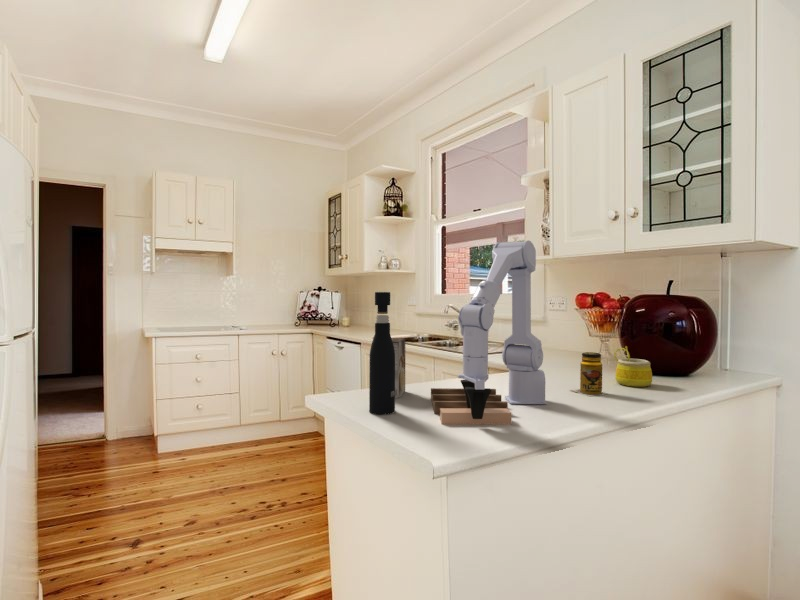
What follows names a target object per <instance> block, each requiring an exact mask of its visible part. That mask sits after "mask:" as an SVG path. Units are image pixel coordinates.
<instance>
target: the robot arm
mask: <svg viewBox="0 0 800 600" xmlns="http://www.w3.org/2000/svg"><path fill="white" fill-rule="evenodd" d="M536 251H537V250H536V248H535V246H534V244H533V242H532V240H525V241H523V240H522V241H509V242H501V241H499V242H498V241H497V242H496V243H495V244H494V246H493V248H492V250H491V256H492V264H491V267H490V269H489V272H488V274H487V277H486V279H485V280H482V281H480V282H479V283H478V285H477V287H476V289H475V290H474V293H473V295H472V297H471V299H470V300H469V302H468V304H465V305H463V306H462V307H461V309H460V310H459V315H458V317H457V320H458V321H457V322H458V324H459V326H460V334H461V336H462V341H463V342H462V343H463V344H462V373H459V374H457V378H458V379H460V383H461V386H462V389H464V392H465V396H466V402H467V408H471V414H472V418H473V419H482V417H483V413H484V409H485V404H486V401H487V399H488V397H489V395H490V393H491V389H492V388H485V387H486V386H485V383H486V382H487V381H488V380H489V373H488V372H489V370H488V369H489V368H488V366H489V365H488V364H489V361H488V360H489V329H491V327H492V325H493V323H494V315H495V307H496V305H497V302H498V300H499V298H500V297H501V295H502V289H501V287H500V286H501V285H502V283H503V281H504V280H505V279H506V276H507V275H508V274H509V275H510V277H511V313H512V314H511V315H512V316H511V320H512V321H511V323H512V324H511V328H512V329H511V330H512V331H511V332H512V333H511V334H510V335H509V336H508V337H507V338H505V339H504V341H503V349H502V353H501V355H502V356H501V359H502V361H503V363H504V365H505V366H506V369H508V395H504V398H505V399H506V401H507V402H509V404H510V405H546V404H547V402H546V375H545V371H544V370H543V369H540V368H541V367H542V365H543V362H544V351H543V348H542V341H541V340H540V339H539V338H538V337H537V336H535V335H534V334H533V333H532V319H531V318H532V317H531V316H532V307H531V306H532V296H531V295H532V287H531V285H532V282H531V281H532V280H531V279H532V277H531V275H532V273H533V272H535V271H536V266H537V263H536V262H537V257H536V256H537V252H536Z"/></svg>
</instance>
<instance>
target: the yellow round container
mask: <svg viewBox="0 0 800 600" xmlns="http://www.w3.org/2000/svg"><path fill="white" fill-rule="evenodd" d="M621 350H623V352H622V353H621ZM617 352H618V353H619V354H617ZM625 352H626V354H627V355H624V354H625ZM617 357H619V359H617ZM625 357H627V358H625ZM614 359H615V361H616V362H617V365H616V369H615V376H614V377H615V382H617V383H618V384H620V385H622V386H626V387H632V388H634V387H635V388H645V387H650V386H651V385H652V383H653V372H652V368H651V364H652V363H651V361H649V360H646V359H640V358H631V356H630V352H629V351H628V346H627V345H625V346H624V347H619V348H617V349H616V350H615V351H614Z"/></svg>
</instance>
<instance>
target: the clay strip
mask: <svg viewBox="0 0 800 600" xmlns="http://www.w3.org/2000/svg"><path fill="white" fill-rule="evenodd" d="M439 420H440V423H441V425H512V411H510V410H509V409H507V408H485V409H484V413H483V417H482V419H473V418H472V414H471V408H440V414H439Z"/></svg>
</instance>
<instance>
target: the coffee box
mask: <svg viewBox="0 0 800 600" xmlns="http://www.w3.org/2000/svg"><path fill="white" fill-rule="evenodd" d="M391 339H392V342H393V345H394V350H395V399H396V398H397V399H398V398H400V397H401V396H402V395H403V394H404V393H405V392H406V337H404V338H403V337H401V338H400V337H391Z"/></svg>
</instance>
